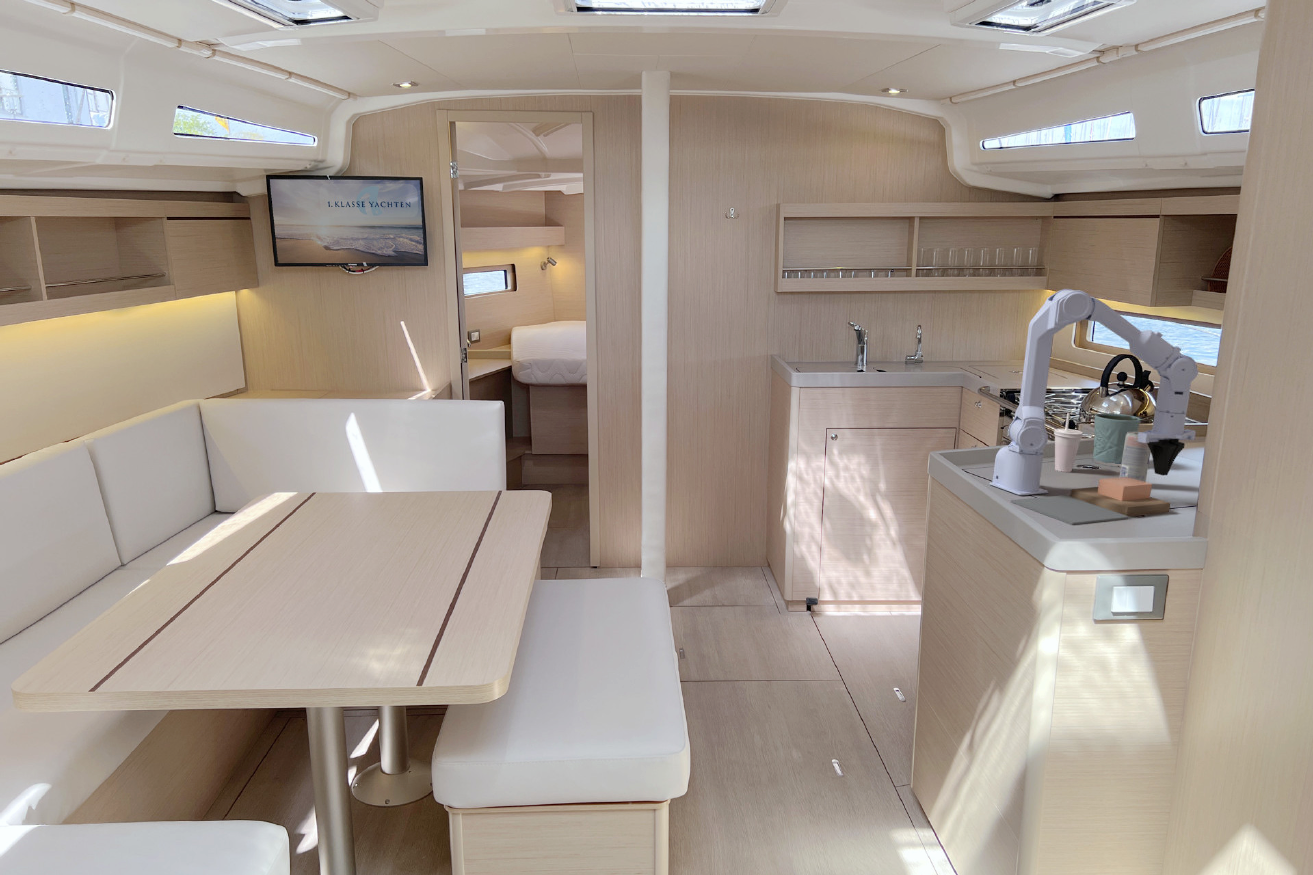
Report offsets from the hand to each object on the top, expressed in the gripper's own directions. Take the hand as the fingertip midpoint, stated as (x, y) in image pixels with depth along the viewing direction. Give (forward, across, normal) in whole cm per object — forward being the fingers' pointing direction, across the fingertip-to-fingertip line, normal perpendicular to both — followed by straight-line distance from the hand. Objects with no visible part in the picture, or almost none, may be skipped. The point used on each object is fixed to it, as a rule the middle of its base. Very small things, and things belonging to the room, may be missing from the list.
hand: (1160, 474), depth 188 cm
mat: (+6, -25, 0) cm, 26 cm away
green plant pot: (+6, +21, +30) cm, 37 cm away
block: (+4, -10, 0) cm, 11 cm away
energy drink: (+6, +7, +12) cm, 15 cm away
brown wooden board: (+6, -11, 0) cm, 13 cm away
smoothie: (+6, +2, +27) cm, 28 cm away
